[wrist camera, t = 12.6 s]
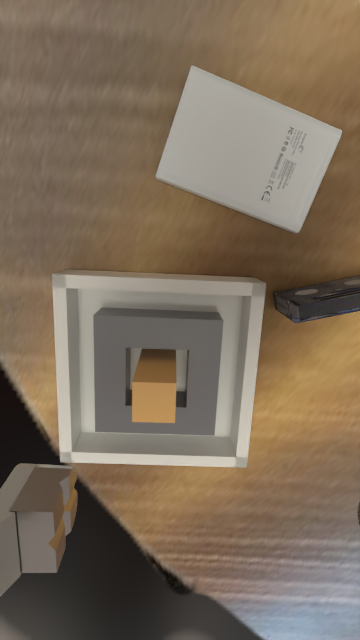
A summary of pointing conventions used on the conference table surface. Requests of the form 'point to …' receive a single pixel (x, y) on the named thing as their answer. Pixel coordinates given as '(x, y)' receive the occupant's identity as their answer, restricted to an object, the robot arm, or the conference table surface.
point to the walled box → (156, 333)
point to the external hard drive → (246, 151)
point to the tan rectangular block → (154, 387)
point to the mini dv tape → (319, 300)
